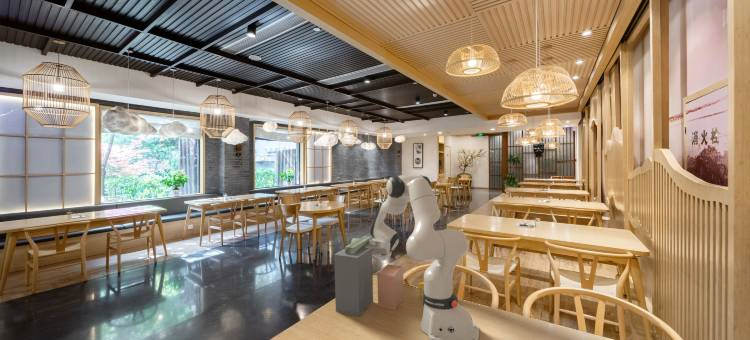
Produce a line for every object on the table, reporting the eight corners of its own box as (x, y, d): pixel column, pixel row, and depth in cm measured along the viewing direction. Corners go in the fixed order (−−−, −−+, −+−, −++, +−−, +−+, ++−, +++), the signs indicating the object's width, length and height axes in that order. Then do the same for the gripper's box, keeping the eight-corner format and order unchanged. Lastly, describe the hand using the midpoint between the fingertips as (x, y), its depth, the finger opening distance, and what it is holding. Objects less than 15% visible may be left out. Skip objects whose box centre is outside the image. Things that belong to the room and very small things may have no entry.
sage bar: (371, 242, 142) (371, 236, 142) (352, 254, 125) (352, 247, 125) (364, 241, 144) (364, 235, 144) (345, 253, 127) (345, 246, 127)
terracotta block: (403, 297, 138) (402, 266, 137) (394, 310, 126) (393, 276, 126) (388, 294, 141) (387, 264, 140) (378, 306, 130) (377, 273, 129)
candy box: (419, 300, 134) (419, 283, 134) (419, 298, 137) (418, 281, 136) (453, 300, 134) (453, 283, 134) (452, 298, 136) (452, 281, 136)
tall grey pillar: (373, 301, 134) (371, 248, 133) (359, 317, 122) (357, 257, 120) (351, 297, 139) (350, 245, 138) (335, 311, 127) (334, 254, 126)
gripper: (359, 239, 156) (347, 232, 145) (393, 243, 147) (384, 236, 136) (356, 251, 153) (344, 244, 142) (391, 255, 144) (381, 249, 133)
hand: (364, 240), depth 139 cm, fingers closed on sage bar, 4 cm apart
